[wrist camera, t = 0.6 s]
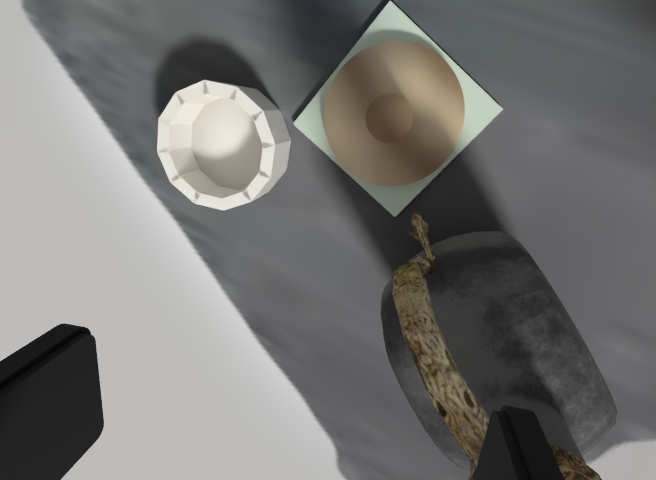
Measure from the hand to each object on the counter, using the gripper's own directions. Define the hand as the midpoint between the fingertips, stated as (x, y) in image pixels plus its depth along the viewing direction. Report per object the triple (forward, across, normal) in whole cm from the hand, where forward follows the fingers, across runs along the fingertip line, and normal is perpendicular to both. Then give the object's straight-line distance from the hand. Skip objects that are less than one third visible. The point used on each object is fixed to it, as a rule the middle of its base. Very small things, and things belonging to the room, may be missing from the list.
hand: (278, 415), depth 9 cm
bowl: (+29, +12, -3) cm, 31 cm away
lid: (+28, -1, -6) cm, 29 cm away
